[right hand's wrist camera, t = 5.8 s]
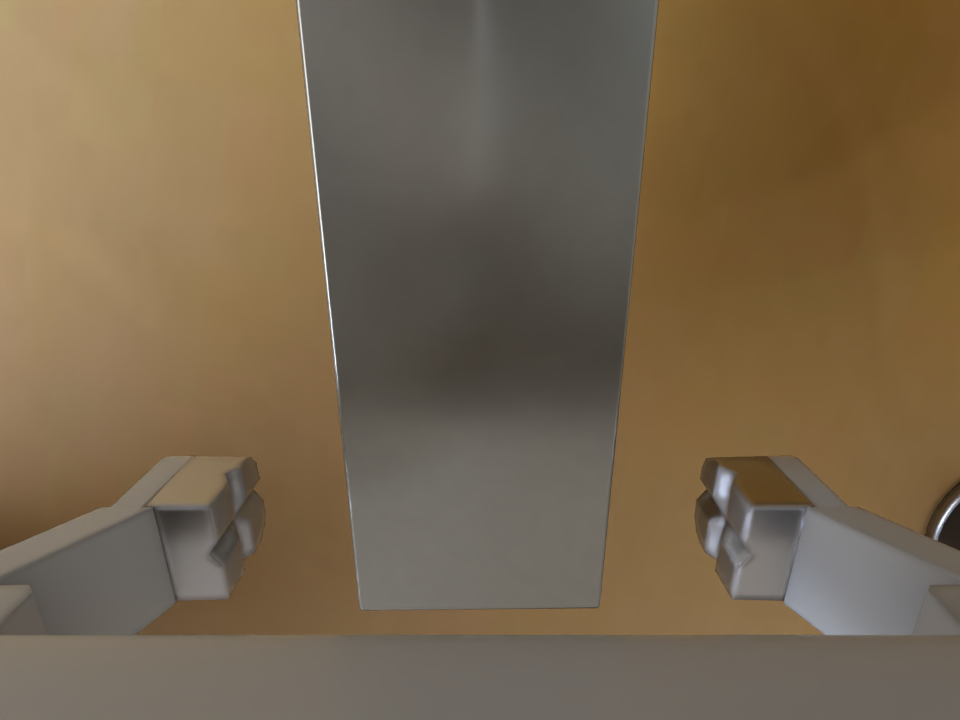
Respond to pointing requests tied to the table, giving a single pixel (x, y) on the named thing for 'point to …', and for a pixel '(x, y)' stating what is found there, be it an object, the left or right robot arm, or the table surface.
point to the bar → (478, 283)
